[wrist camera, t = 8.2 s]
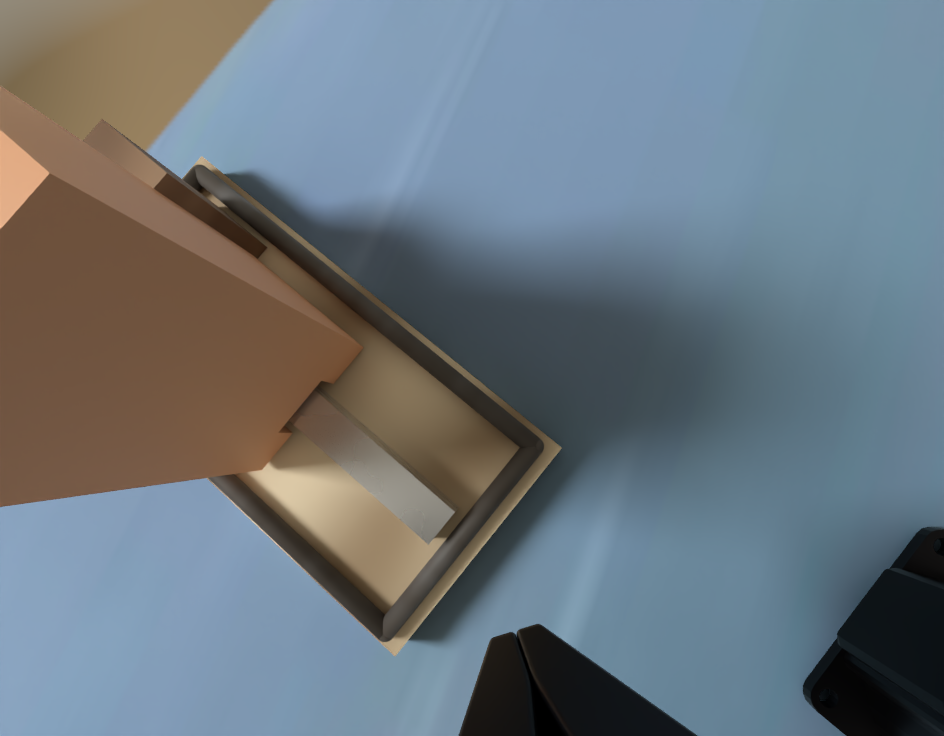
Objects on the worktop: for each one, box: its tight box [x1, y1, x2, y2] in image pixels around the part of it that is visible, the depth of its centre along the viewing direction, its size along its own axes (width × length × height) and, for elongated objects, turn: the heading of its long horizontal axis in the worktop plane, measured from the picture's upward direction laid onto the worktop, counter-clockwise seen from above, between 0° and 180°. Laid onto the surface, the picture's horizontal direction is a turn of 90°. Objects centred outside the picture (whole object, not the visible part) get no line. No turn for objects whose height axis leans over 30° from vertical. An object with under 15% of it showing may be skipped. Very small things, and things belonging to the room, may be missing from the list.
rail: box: [289, 385, 459, 545], centre depth 16 cm, size 10×1×1 cm, turn 51°
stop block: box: [83, 119, 267, 259], centre depth 15 cm, size 2×6×5 cm, turn 141°
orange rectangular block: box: [0, 86, 364, 507], centre depth 11 cm, size 5×5×11 cm
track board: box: [182, 156, 562, 656], centre depth 17 cm, size 16×8×2 cm, turn 51°
